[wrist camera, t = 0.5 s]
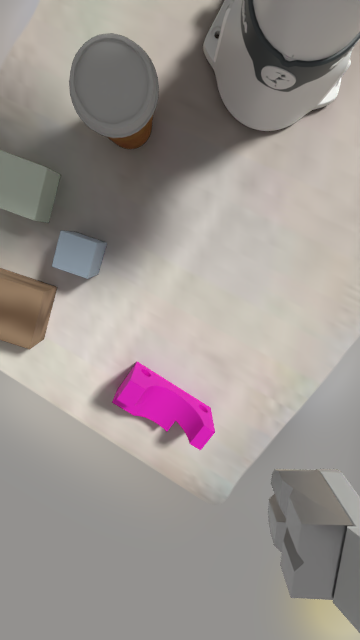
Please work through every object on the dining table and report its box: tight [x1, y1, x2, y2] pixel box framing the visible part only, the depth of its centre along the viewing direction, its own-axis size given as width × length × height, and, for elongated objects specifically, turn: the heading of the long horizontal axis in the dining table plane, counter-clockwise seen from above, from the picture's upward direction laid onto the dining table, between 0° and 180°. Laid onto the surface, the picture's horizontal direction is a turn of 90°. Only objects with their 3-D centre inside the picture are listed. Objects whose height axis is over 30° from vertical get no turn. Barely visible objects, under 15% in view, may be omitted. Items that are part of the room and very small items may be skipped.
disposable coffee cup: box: [69, 33, 159, 149], centre depth 39 cm, size 10×10×12 cm
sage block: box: [0, 150, 61, 223], centre depth 44 cm, size 7×7×5 cm
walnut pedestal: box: [0, 268, 57, 349], centre depth 48 cm, size 9×12×5 cm
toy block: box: [112, 362, 215, 450], centre depth 51 cm, size 15×6×8 cm, turn 56°
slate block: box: [52, 230, 107, 279], centre depth 46 cm, size 5×5×6 cm
